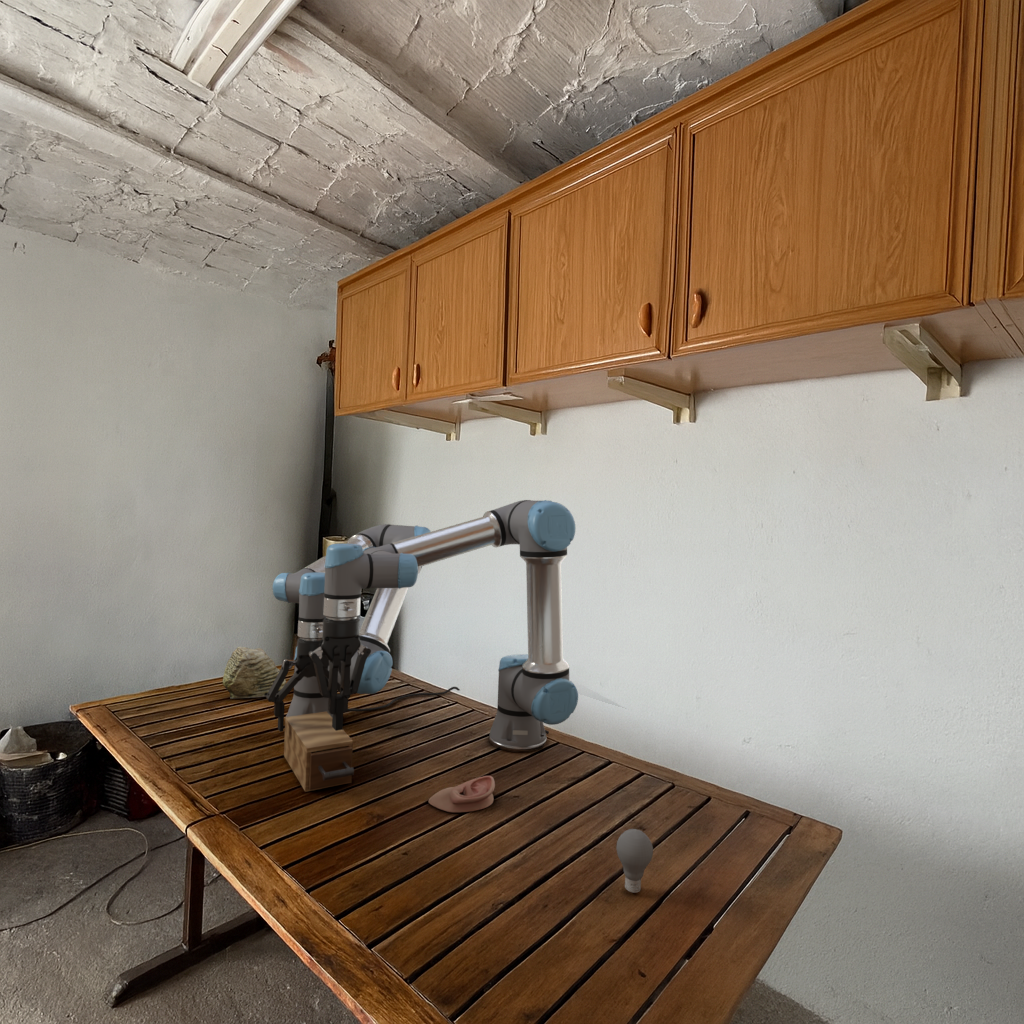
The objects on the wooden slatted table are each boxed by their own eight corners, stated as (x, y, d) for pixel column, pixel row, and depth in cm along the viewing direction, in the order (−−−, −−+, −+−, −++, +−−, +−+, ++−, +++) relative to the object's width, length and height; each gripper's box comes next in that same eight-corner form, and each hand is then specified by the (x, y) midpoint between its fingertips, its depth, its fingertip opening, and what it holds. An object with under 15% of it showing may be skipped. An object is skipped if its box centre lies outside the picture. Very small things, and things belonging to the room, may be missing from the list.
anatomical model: (423, 789, 130) (441, 766, 141) (423, 808, 130) (440, 784, 141) (486, 798, 127) (499, 774, 139) (485, 817, 128) (498, 792, 139)
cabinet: (351, 782, 141) (352, 740, 141) (305, 792, 136) (306, 748, 135) (325, 748, 159) (326, 711, 159) (283, 755, 154) (285, 717, 153)
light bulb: (610, 879, 108) (613, 822, 108) (644, 879, 109) (647, 822, 109) (619, 902, 102) (622, 840, 102) (655, 901, 103) (658, 840, 103)
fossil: (218, 695, 195) (220, 647, 195) (278, 685, 208) (279, 640, 207) (228, 703, 189) (230, 653, 188) (289, 692, 201) (290, 645, 201)
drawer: (359, 792, 134) (360, 757, 134) (317, 801, 130) (318, 765, 129) (326, 749, 156) (327, 719, 156) (289, 755, 151) (290, 724, 151)
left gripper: (261, 644, 142) (257, 738, 142) (369, 637, 155) (365, 723, 155) (255, 637, 149) (251, 728, 149) (359, 631, 162) (355, 714, 162)
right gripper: (314, 622, 127) (310, 739, 127) (377, 618, 134) (373, 729, 134) (305, 615, 133) (301, 726, 134) (365, 612, 140) (361, 718, 141)
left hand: (309, 725), depth 152 cm, fingers open, 13 cm apart
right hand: (337, 727), depth 134 cm, fingers closed
